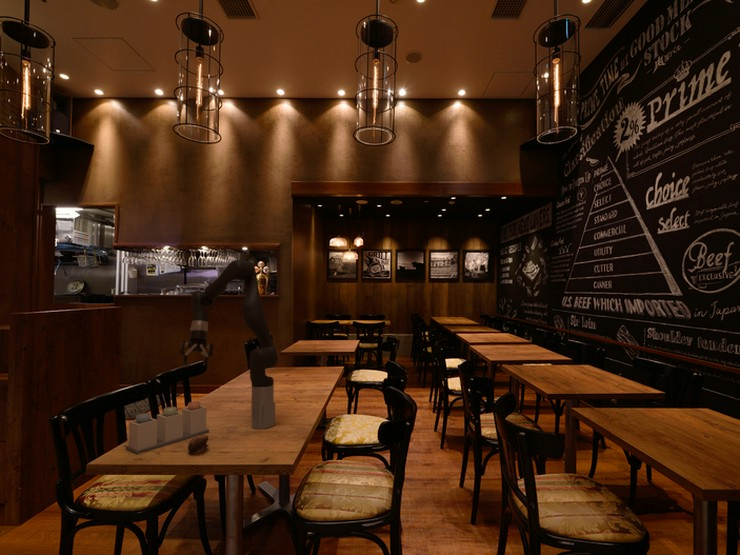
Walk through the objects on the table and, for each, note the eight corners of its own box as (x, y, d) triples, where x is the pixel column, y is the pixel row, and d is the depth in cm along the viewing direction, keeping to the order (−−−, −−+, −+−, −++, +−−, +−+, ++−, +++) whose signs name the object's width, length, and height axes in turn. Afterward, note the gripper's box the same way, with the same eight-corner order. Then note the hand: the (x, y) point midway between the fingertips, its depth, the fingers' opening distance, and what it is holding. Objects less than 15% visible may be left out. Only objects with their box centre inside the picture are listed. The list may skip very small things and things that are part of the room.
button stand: (209, 432, 163) (209, 407, 163) (136, 454, 140) (137, 425, 140) (197, 428, 168) (197, 404, 168) (125, 449, 145) (126, 421, 146)
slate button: (152, 422, 147) (152, 414, 147) (139, 425, 143) (139, 417, 143) (146, 420, 150) (146, 412, 150) (133, 423, 146) (133, 415, 146)
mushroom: (217, 438, 147) (206, 426, 145) (209, 454, 139) (198, 442, 137) (200, 447, 148) (189, 435, 146) (191, 463, 140) (180, 452, 138)
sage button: (178, 415, 155) (179, 408, 155) (167, 418, 151) (167, 410, 151) (172, 413, 158) (172, 406, 158) (161, 416, 154) (161, 408, 154)
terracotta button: (202, 409, 163) (202, 402, 163) (192, 412, 159) (192, 404, 159) (196, 408, 166) (196, 400, 166) (185, 410, 162) (185, 403, 162)
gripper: (185, 327, 184) (180, 362, 178) (216, 331, 192) (212, 364, 187) (181, 331, 190) (176, 365, 184) (211, 334, 198) (208, 367, 192)
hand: (194, 364), depth 185 cm, fingers open, 8 cm apart
